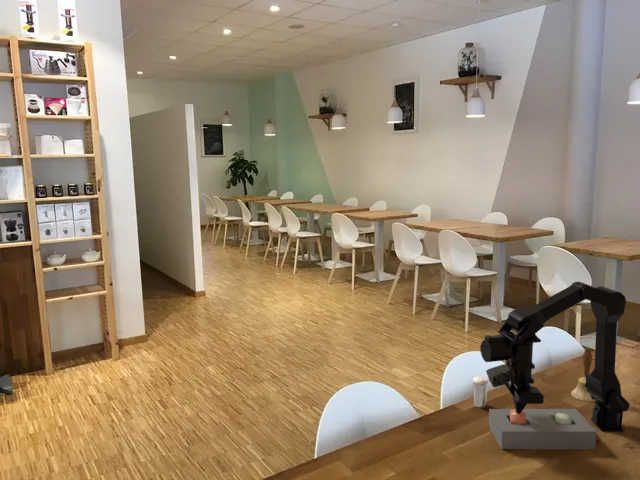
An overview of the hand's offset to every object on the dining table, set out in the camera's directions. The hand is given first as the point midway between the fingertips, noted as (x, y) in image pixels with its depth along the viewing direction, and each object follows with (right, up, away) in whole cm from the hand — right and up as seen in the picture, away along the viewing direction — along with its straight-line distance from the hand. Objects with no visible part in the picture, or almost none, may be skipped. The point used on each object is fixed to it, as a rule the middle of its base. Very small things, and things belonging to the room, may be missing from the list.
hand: (518, 412), depth 142 cm
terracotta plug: (0, -5, +1) cm, 5 cm away
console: (+6, -7, +1) cm, 9 cm away
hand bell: (+30, -3, +24) cm, 38 cm away
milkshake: (-4, -4, +19) cm, 20 cm away
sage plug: (+12, -6, +1) cm, 13 cm away
